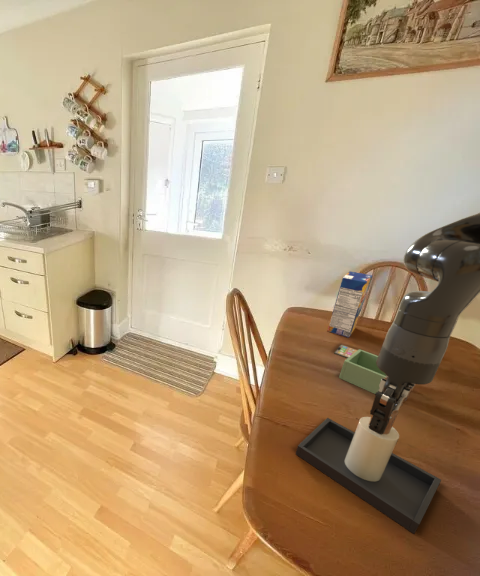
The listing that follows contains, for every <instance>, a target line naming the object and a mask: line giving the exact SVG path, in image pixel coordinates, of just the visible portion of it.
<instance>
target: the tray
mask: <svg viewBox="0 0 480 576" xmlns="http://www.w3.org/2000/svg"><path fill="white" fill-rule="evenodd" d="M354 433H355V431H353V430H351V429H349V428H347V427H346V426H344V425H342V424H340V423H339V422H337V421H334V420H333V419H331V418H329V417H326V418H325V420H323V421H322V423H320V424H319V425H318V426H317V427H316V428H314V430H313V431H311V433H309V435H307V436H306V437H305V438H304V439H303V440H302V441H301V442H300V443H299V444H298V445H297V447H296V451H295V455H296V456H297V457H299V458H300V459H301V460H303V461H304V462H306V463H308V465H311V466H312V467H314V468H315V469H316V470H318V471H319V472H321V473H323V474H324V475H326V476H327V477H329V478H330V479H332V480H333V481H335V482H336V483H337V484H339V485H340V486H341V487H343V488H344V489H346V490H347V491H349V492H351V494H354V495H356V497H358V498H359V499H361V500H363V501H364V502H365V503H367V504H369V505H370V506H372V507H373V508H374V509H376V510H377V511H379V512H381V513H382V514H383V515H385V516H386V517H388V518H389V519H391V520H392V521H394V522H395V523H397V524H398V525H400V526H401V527H403V528H404V529H406V530H407V531H409V532H410V533H411V534H413V535H415V534H416V531H417V530H418V528H419V526H420V525H421V522H422V520H423V518H424V517H425V514H426V512H427V511H428V508H429V506H430V504H431V502H432V500H433V498H434V496H435V494H436V492H437V490H438V488H439V486H440V483H441V482H442V479H441V478H439V477H437V476H436V475H434V474H432V473H430V472H428V471H427V470H424V469H423V468H421V467H419V466H417V465H415V464H413V463H412V462H410V461H408V460H407V459H404V458H402V457H401V456H399V455H397V454H396V453H394V452H392V455H391V457H390V459H389V461H388V464H387V466H386V468H385V470H384V472H383V475H382V477H381V479H380V480H379V481H376V482H372V481H367V480H364V479H362V478H360V477H358V476H356V475H355V474H354V473H352V472H351V471H350V470H349V469H348V468H347V466H346V465H345V457H346V455H347V452H348V449H349V447H350V444H351V441H352V439H353V436H354Z"/></svg>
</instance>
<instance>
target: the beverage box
mask: <svg viewBox="0 0 480 576" xmlns="http://www.w3.org/2000/svg"><path fill="white" fill-rule="evenodd" d="M373 276H374V275H372V274H368V273H367V274H366V273H361V272H357V271H351V270H349V271H348V272H347V273H346V274H345V275H344V276H343V277H342V279H341V282H340V285H339V289H338V293H337V296H336V299H335V303H334V306H333V309H332V313H331V317H330V320H329V323H328V326H327V330H326V331H327V333H328V332H329V333H332V334H334V335H339V336H341V337H344V338H348V339H349V338H350V337H351V336H352V334H353V333H354V331H355V329H356V328H357V324H358V321H359V318H360V315H361V312H362V309H363V306H364V303H365V300H366V296H367V293H368V290H369V288H370V285H371V282H372V278H373Z"/></svg>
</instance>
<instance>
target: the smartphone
mask: <svg viewBox="0 0 480 576" xmlns="http://www.w3.org/2000/svg"><path fill="white" fill-rule="evenodd" d="M358 350H359V349H355V348H352V347H350V346H347V345H344V344H340V345H339V346H338V348H336V350H335V351H334V352H333V354H334V355H336V356H340V357H342V358H346V359H347V358H349V357H350V356H351V355H352V354H354V353H355V352H356V351H358Z"/></svg>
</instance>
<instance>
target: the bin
mask: <svg viewBox="0 0 480 576" xmlns="http://www.w3.org/2000/svg"><path fill="white" fill-rule="evenodd" d="M357 350H358V351H356V352H355V353H354V354H352V355H351V356H350V357H349V358H346V359H344V361H343V364H342V367H341V369H340V373H339V377H338V379H341V380H343V381H345V382H347V383H349V384H351V385H354V386H356V387H358V388H361V389H363V390H365V391H367V392H369V393H372V394H374V395H375V394H376V392H378V391H379V389H380V387H379V384H380V382H381V380H382V378H384V379H385V377H386V374H385V373H384V372H382V371H381V370H380V369H379V368H378V367H377V365H376V361H377V358H378V356H379V355H377V354H374V353H372V352H368V351H367V350H363V349H360V348H359V349H357Z"/></svg>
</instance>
